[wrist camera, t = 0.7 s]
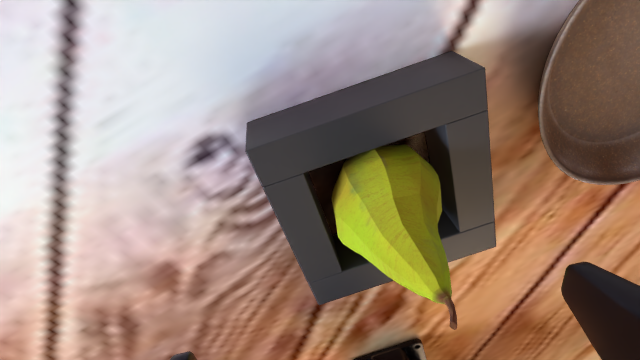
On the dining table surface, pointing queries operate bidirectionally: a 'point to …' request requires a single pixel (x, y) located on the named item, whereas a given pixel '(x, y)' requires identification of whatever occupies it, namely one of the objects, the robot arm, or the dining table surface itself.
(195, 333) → the dining table surface
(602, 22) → the saucer
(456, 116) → the holder
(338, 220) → the fruit
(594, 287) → the robot arm
